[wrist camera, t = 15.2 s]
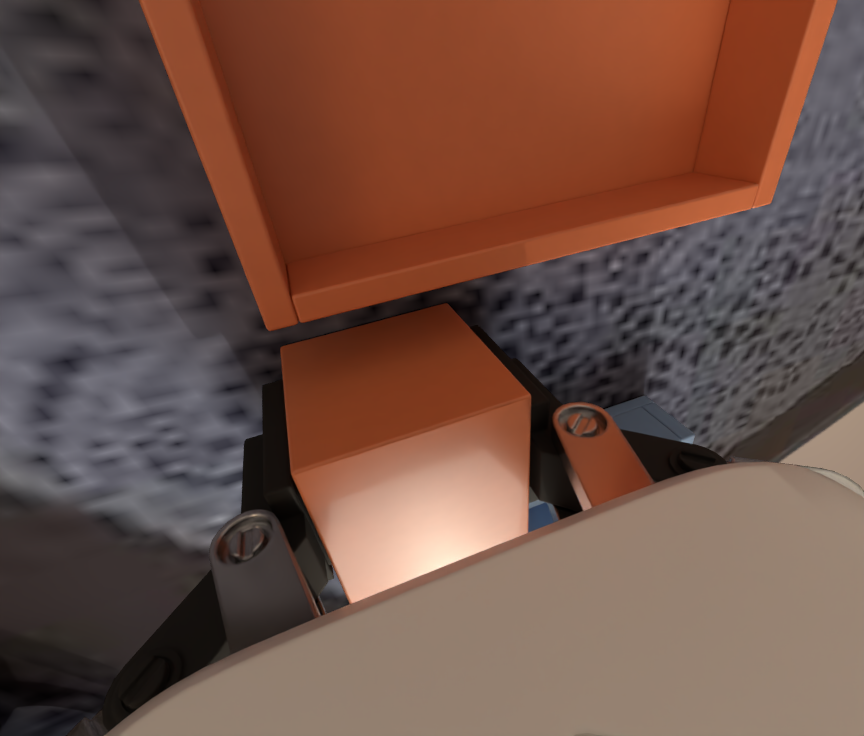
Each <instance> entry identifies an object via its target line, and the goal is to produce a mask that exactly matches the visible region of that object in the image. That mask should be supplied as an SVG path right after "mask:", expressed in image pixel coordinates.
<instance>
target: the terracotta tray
mask: <svg viewBox="0 0 864 736" xmlns="http://www.w3.org/2000/svg"><path fill="white" fill-rule="evenodd" d="M139 2H140V5H141V8H142V10H143V13H144V15H145V18H146V20H147V23H148V26H149V28H150V31H151V33H152V36H153V38H154V41H155V44H156V46H157V49H158V51H159V54H160V56H161V59H162V62H163V64H164V67H165V69H166V72H167V74H168V77H169V79H170V82H171V85H172V87H173V90H174V92H175V95H176V97H177V100H178V103H179V105H180V108H181V110H182V113H183V115H184V118H185V121H186V123H187V126H188V128H189V131H190V133H191V136H192V138H193V141H194V144H195V146H196V149H197V151H198V154H199V156H200V159H201V162H202V164H203V167H204V169H205V172H206V174H207V177H208V180H209V182H210V185H211V187H212V190H213V192H214V195H215V197H216V200H217V203H218V205H219V208H220V210H221V213H222V215H223V218H224V221H225V223H226V226H227V228H228V231H229V233H230V236H231V239H232V241H233V244H234V246H235V249H236V251H237V254H238V257H239V259H240V262H241V264H242V267H243V269H244V272H245V274H246V277H247V280H248V282H249V285H250V287H251V290H252V292H253V295H254V298H255V300H256V303H257V305H258V308H259V310H260V313H261V316H262V318H263V321H264V323H265V326H266V328H267V329H268V330H269V331H273V330H277V329H281V328H285V327H289V326H293V325H296V324H298V320H299V321H300V322H301V323H304V322H308V321H312V320H316V319H320V318H324V317H328V316H332V315H336V314H340V313H344V312H348V311H351V310H355V309H359V308H363V307H367V306H371V305H375V304H379V303H383V302H387V301H391V300H395V299H399V298H402V297H406V296H410V295H414V294H418V293H422V292H426V291H430V290H434V289H438V288H442V287H446V286H450V285H453V284H457V283H461V282H465V281H469V280H473V279H477V278H481V277H485V276H489V275H493V274H497V273H501V272H504V271H508V270H512V269H516V268H520V267H524V266H528V265H532V264H536V263H540V262H544V261H548V260H552V259H556V258H559V257H563V256H567V255H571V254H575V253H579V252H583V251H587V250H591V249H595V248H599V247H603V246H607V245H610V244H614V243H618V242H622V241H626V240H630V239H634V238H638V237H642V236H646V235H650V234H654V233H658V232H661V231H665V230H669V229H673V228H677V227H681V226H685V225H689V224H693V223H697V222H701V221H705V220H709V219H712V218H716V217H720V216H724V215H728V214H732V213H736V212H740V211H744V210H748V209H751V208H756V207H760V206H763V205H767V204H770V203H771V202H772V199H773V196H774V193H775V190H776V186H777V183H778V180H779V177H780V174H781V171H782V168H783V165H784V162H785V159H786V156H787V153H788V150H789V147H790V144H791V141H792V138H793V135H794V132H795V128H796V125H797V122H798V119H799V116H800V113H801V110H802V107H803V104H804V101H805V98H806V95H807V92H808V89H809V86H810V83H811V80H812V77H813V73H814V70H815V67H816V64H817V61H818V58H819V55H820V52H821V49H822V46H823V43H824V40H825V37H826V34H827V31H828V28H829V25H830V22H831V18H832V15H833V12H834V9H835V6H836V3H837V0H139Z"/></svg>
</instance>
